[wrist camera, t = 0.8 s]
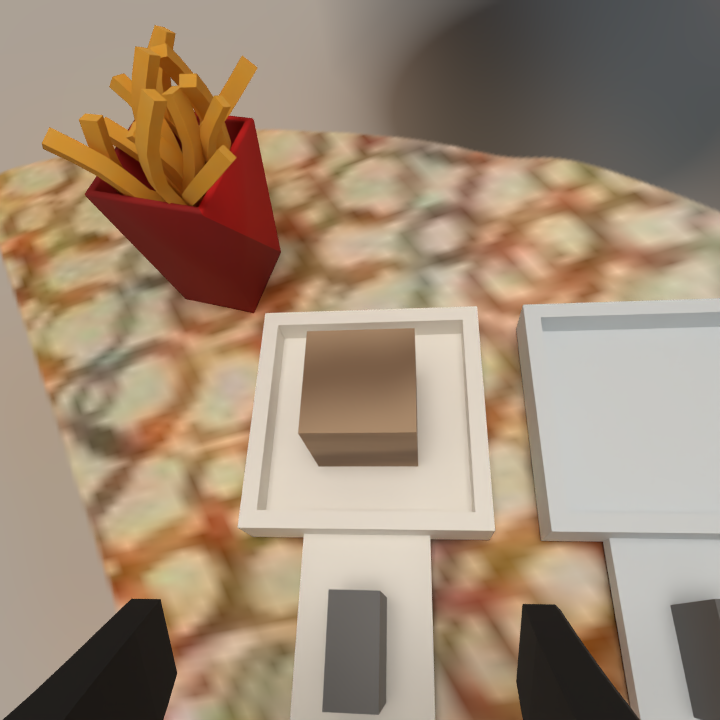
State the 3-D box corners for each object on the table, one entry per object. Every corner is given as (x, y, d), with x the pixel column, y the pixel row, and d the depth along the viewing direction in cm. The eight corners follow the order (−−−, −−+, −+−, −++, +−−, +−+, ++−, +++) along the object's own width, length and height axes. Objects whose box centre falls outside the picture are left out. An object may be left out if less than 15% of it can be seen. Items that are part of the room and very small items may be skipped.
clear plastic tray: (887, 786, 20) (1016, 828, 16) (567, 768, 22) (604, 801, 17) (733, 322, 30) (787, 267, 25) (516, 328, 31) (531, 276, 26)
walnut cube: (418, 466, 27) (416, 432, 22) (318, 466, 27) (297, 433, 23) (416, 375, 29) (414, 327, 25) (324, 377, 30) (306, 331, 25)
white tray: (506, 764, 22) (526, 796, 17) (228, 747, 23) (181, 773, 19) (473, 329, 31) (481, 278, 27) (276, 335, 32) (252, 287, 28)
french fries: (165, 308, 34) (3, 102, 21) (216, 211, 38) (103, -20, 25) (293, 335, 32) (202, 126, 19) (335, 230, 36) (282, -9, 23)
